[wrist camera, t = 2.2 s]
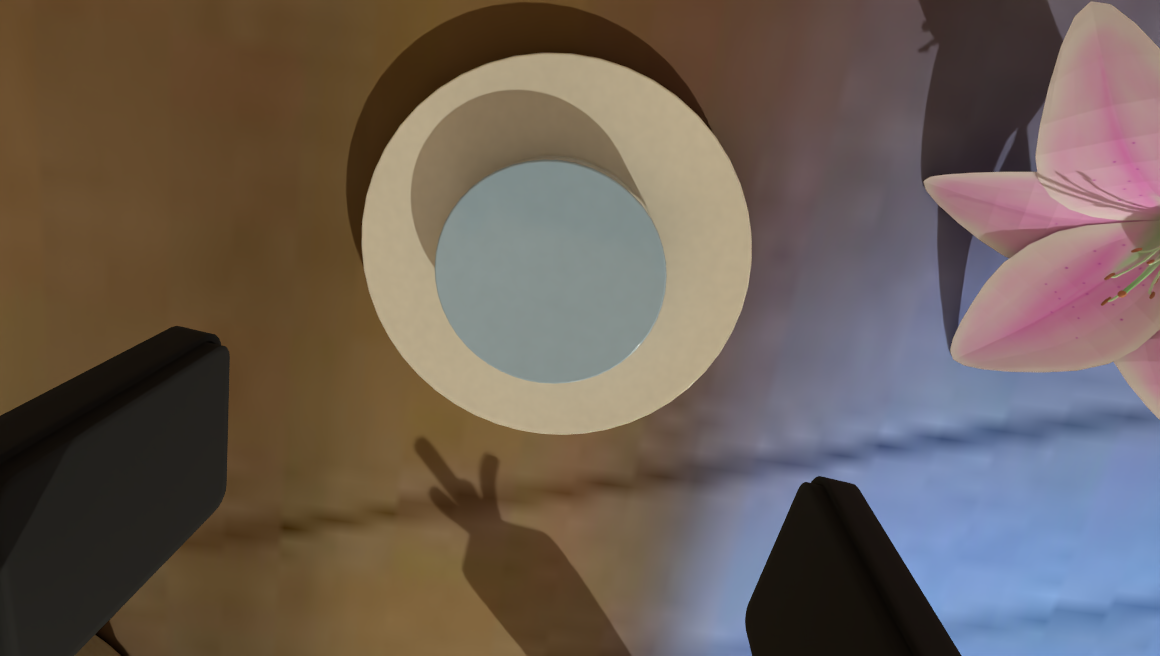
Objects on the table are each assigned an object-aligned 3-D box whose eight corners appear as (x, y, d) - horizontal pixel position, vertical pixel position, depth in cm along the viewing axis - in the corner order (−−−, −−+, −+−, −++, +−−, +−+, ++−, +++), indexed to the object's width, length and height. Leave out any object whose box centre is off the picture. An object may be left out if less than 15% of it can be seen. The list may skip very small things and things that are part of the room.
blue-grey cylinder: (464, 129, 19) (452, 133, 17) (689, 184, 19) (696, 192, 18) (433, 338, 22) (419, 356, 20) (631, 384, 22) (632, 405, 20)
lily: (985, -45, 18) (992, 42, 12) (1573, -46, 14) (2096, 93, 8) (886, 281, 26) (857, 443, 20) (1248, 348, 22) (1367, 587, 15)
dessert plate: (396, 8, 19) (382, 3, 18) (800, 110, 19) (812, 111, 18) (357, 376, 24) (344, 391, 22) (683, 451, 24) (686, 468, 23)
